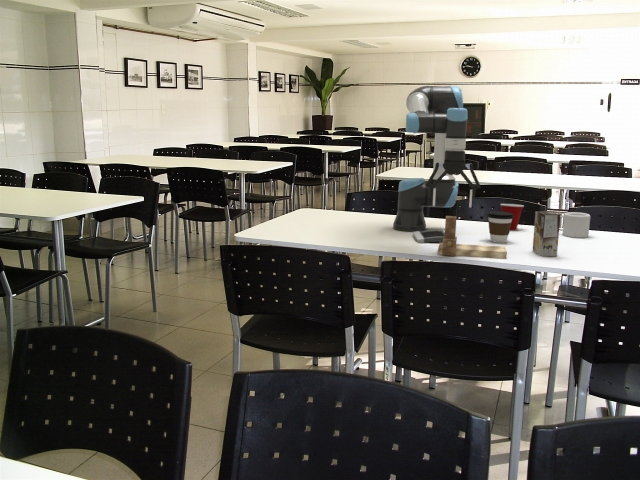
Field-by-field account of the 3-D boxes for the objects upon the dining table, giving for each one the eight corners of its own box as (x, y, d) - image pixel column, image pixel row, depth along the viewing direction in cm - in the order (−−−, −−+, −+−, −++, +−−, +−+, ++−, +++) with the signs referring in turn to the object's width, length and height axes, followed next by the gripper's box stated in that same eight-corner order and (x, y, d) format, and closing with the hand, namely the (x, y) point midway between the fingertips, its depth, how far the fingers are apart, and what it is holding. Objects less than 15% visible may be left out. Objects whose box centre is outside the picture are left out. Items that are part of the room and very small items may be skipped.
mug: (588, 235, 277) (590, 213, 275) (587, 239, 267) (590, 216, 265) (556, 232, 282) (558, 210, 280) (554, 236, 273) (556, 214, 271)
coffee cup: (498, 244, 253) (500, 216, 250) (479, 239, 262) (481, 212, 260) (517, 242, 258) (519, 214, 255) (499, 237, 267) (501, 210, 265)
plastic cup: (523, 228, 290) (526, 203, 288) (520, 232, 281) (522, 206, 279) (500, 226, 295) (502, 201, 293) (496, 229, 286) (498, 204, 283)
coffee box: (557, 256, 233) (561, 214, 230) (541, 256, 233) (545, 214, 229) (547, 251, 242) (550, 210, 239) (531, 251, 242) (534, 210, 238)
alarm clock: (457, 237, 253) (417, 233, 253) (455, 248, 254) (416, 244, 254) (449, 229, 269) (412, 225, 270) (448, 239, 270) (411, 236, 271)
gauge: (441, 255, 230) (443, 220, 227) (443, 247, 244) (444, 214, 241) (455, 256, 229) (457, 220, 226) (455, 248, 243) (457, 214, 240)
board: (438, 254, 233) (438, 247, 233) (439, 248, 243) (439, 242, 243) (506, 258, 228) (506, 251, 228) (504, 252, 238) (505, 246, 237)
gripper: (420, 149, 229) (418, 206, 233) (489, 151, 223) (486, 209, 227) (422, 148, 236) (419, 203, 240) (489, 150, 230) (485, 206, 234)
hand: (451, 206), depth 234 cm, fingers open, 13 cm apart
